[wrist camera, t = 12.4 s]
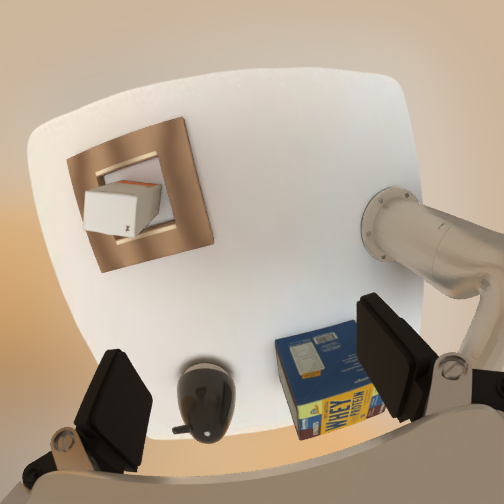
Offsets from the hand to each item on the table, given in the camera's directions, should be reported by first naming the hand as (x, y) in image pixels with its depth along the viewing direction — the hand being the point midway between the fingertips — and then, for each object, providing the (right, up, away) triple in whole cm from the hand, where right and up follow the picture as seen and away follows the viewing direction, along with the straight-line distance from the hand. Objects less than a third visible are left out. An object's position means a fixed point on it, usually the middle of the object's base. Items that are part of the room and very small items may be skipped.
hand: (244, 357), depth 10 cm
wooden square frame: (-15, +12, +25) cm, 31 cm away
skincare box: (-15, +12, +25) cm, 32 cm away
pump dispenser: (-8, -18, +37) cm, 42 cm away
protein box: (+12, -14, +38) cm, 43 cm away
